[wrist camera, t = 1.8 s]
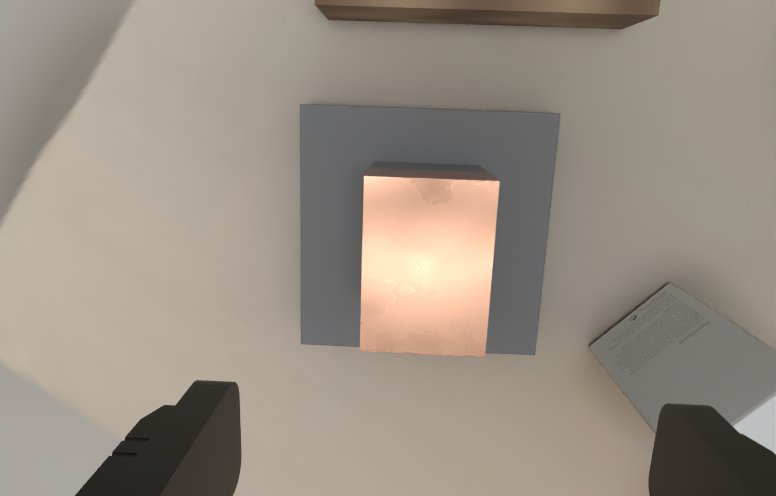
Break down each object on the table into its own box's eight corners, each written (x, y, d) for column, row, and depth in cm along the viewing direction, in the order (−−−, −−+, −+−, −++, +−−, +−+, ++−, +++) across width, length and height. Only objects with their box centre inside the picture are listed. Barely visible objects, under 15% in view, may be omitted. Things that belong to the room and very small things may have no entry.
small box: (585, 344, 31) (673, 462, 20) (670, 277, 30) (807, 367, 19) (674, 442, 32) (799, 599, 22) (758, 381, 31) (932, 516, 21)
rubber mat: (549, 113, 28) (560, 113, 26) (526, 339, 31) (535, 355, 29) (307, 104, 28) (300, 104, 26) (307, 329, 31) (301, 344, 29)
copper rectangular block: (479, 165, 27) (499, 181, 21) (469, 305, 28) (485, 356, 22) (374, 161, 27) (363, 175, 21) (370, 301, 28) (360, 350, 23)
